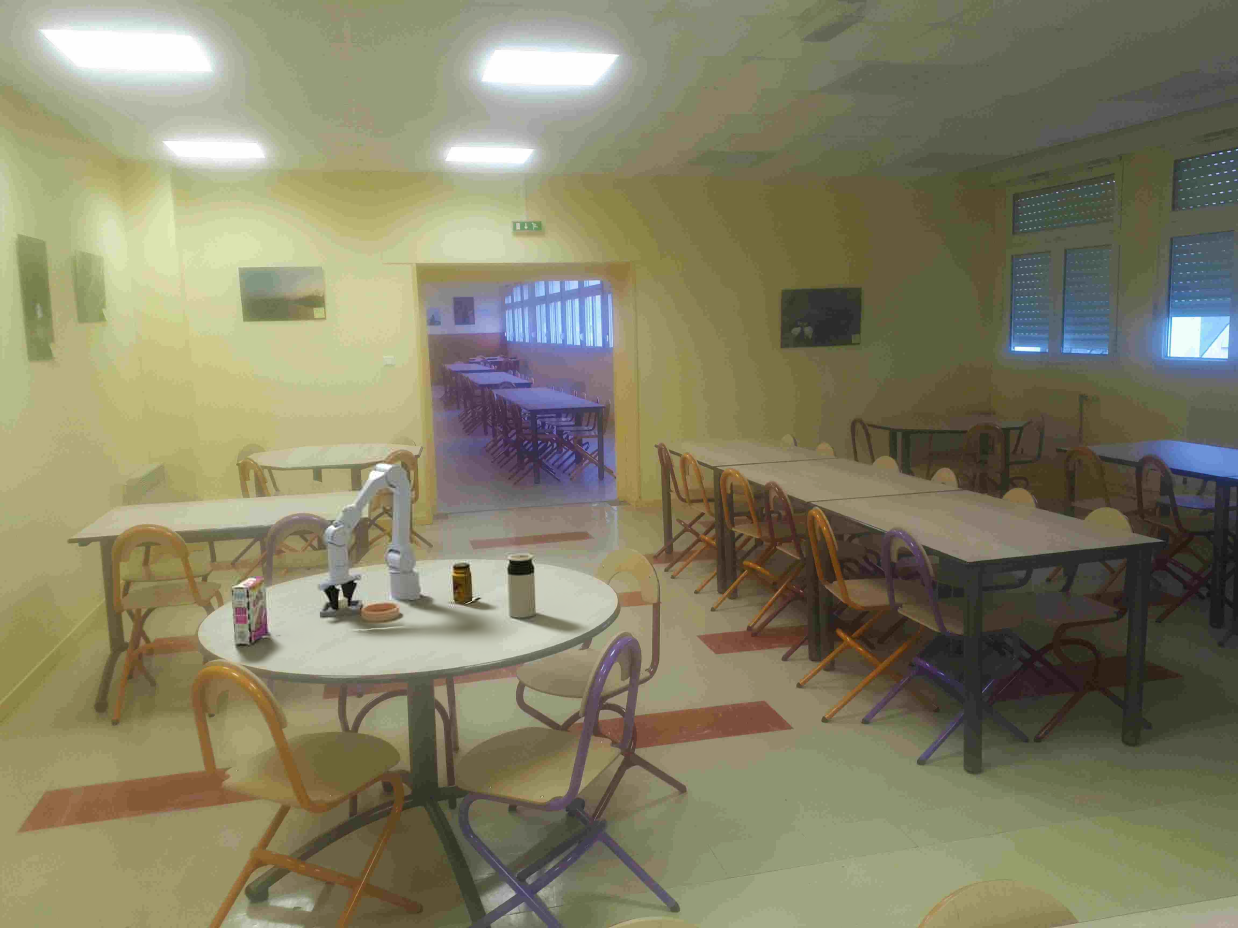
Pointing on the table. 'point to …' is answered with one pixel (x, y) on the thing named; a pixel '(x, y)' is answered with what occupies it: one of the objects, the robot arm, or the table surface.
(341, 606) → the cream round lump
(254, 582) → the candy bar box
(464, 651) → the table surface
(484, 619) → the table surface
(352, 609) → the tray
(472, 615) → the table surface
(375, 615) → the bowl
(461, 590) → the condiment
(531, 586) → the travel mug
